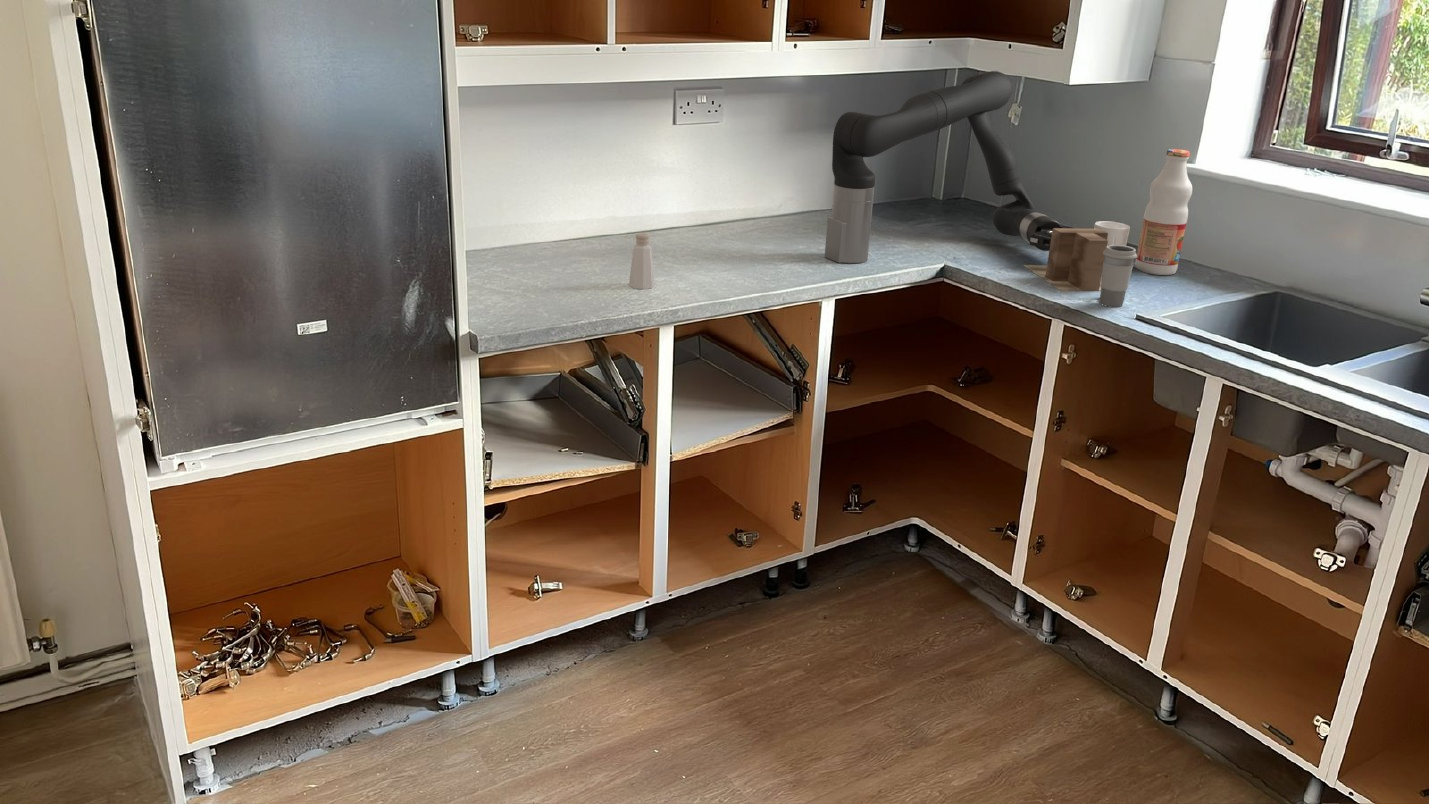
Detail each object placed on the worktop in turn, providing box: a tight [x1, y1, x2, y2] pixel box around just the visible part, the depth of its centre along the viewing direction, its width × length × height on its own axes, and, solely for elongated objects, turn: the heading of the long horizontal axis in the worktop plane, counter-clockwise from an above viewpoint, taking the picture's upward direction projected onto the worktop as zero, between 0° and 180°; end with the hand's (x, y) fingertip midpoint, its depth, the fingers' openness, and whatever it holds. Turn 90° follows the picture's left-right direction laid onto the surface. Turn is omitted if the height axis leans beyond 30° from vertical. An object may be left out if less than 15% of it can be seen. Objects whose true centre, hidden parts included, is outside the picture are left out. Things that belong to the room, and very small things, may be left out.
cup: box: [1099, 245, 1137, 308], centre depth 229 cm, size 7×7×12 cm
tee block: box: [1045, 227, 1108, 290], centre depth 240 cm, size 11×11×11 cm
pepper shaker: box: [628, 232, 656, 290], centre depth 227 cm, size 5×5×11 cm
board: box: [1023, 264, 1101, 292], centre depth 247 cm, size 21×13×1 cm, turn 8°
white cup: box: [1093, 220, 1131, 246], centre depth 259 cm, size 8×8×10 cm
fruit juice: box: [1134, 148, 1193, 276], centre depth 254 cm, size 9×9×28 cm
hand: (1072, 249), depth 245 cm, fingers closed
